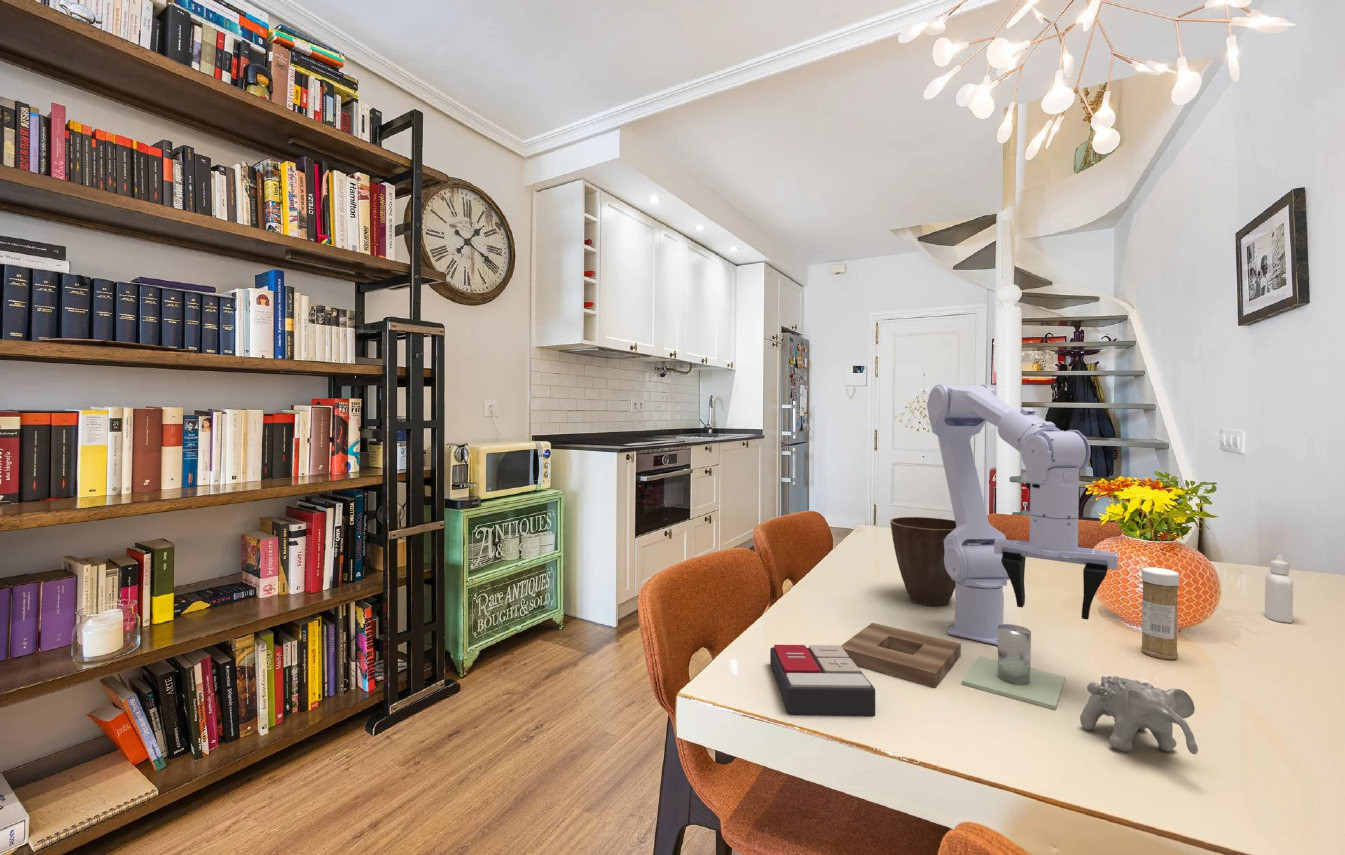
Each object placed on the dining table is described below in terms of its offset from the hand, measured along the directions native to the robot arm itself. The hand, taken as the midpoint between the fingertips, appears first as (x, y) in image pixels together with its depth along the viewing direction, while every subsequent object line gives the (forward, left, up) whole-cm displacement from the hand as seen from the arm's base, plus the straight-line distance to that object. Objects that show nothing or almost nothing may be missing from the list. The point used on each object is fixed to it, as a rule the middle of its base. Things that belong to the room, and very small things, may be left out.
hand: (1052, 611), depth 82 cm
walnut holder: (+6, -19, -10) cm, 22 cm away
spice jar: (-22, +12, -10) cm, 27 cm away
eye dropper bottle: (-58, +30, -10) cm, 66 cm away
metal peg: (+4, -4, -9) cm, 11 cm away
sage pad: (+4, -4, -10) cm, 11 cm away
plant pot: (-27, -24, -10) cm, 38 cm away
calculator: (+23, -25, -10) cm, 35 cm away
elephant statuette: (+13, +10, -10) cm, 20 cm away
